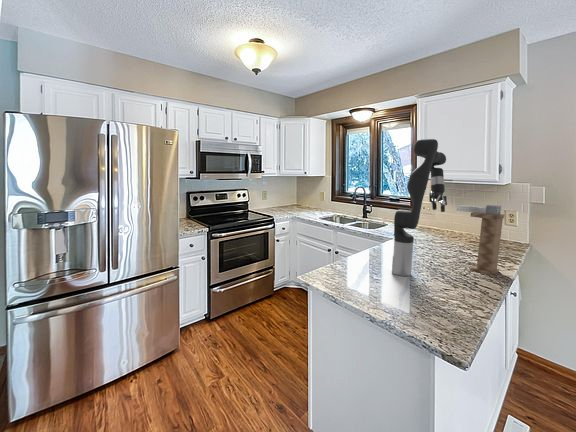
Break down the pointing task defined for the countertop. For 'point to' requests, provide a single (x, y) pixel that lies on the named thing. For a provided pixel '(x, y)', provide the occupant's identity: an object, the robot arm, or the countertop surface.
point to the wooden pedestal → (488, 243)
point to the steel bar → (481, 209)
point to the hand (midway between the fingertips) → (438, 210)
